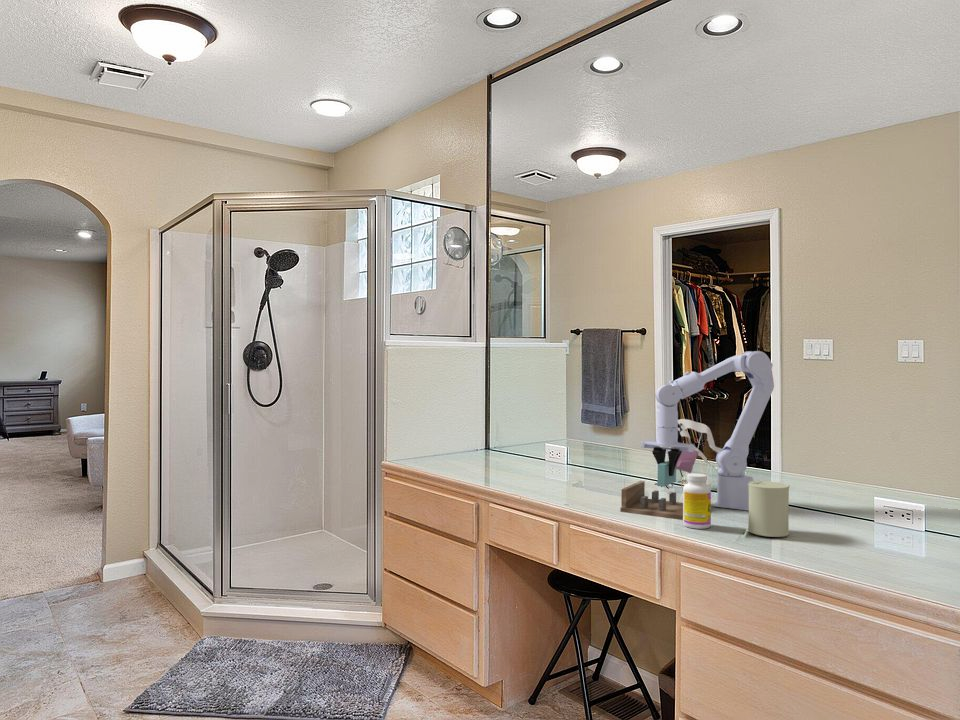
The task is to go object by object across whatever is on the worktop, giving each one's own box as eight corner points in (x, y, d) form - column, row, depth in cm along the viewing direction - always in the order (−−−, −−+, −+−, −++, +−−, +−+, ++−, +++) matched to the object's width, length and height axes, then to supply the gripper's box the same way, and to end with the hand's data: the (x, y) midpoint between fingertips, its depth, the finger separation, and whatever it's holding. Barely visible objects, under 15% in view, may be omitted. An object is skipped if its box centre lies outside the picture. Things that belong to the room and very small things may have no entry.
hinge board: (703, 508, 191) (703, 487, 191) (686, 520, 178) (686, 496, 178) (640, 501, 201) (640, 480, 201) (620, 511, 187) (620, 489, 187)
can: (754, 525, 172) (755, 477, 172) (793, 531, 167) (794, 482, 167) (742, 532, 165) (742, 482, 165) (782, 539, 159) (783, 487, 159)
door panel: (675, 481, 198) (676, 460, 198) (664, 486, 190) (664, 465, 190) (669, 480, 200) (669, 460, 200) (657, 485, 191) (657, 464, 191)
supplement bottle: (712, 530, 167) (712, 477, 167) (684, 528, 169) (684, 476, 169) (708, 523, 174) (709, 473, 174) (681, 522, 175) (681, 472, 175)
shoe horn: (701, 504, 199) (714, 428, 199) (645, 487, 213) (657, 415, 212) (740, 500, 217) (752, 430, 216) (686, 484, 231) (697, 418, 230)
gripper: (697, 427, 194) (696, 475, 194) (647, 424, 202) (647, 470, 202) (689, 429, 188) (689, 479, 188) (638, 426, 196) (638, 474, 196)
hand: (666, 475), depth 195 cm, fingers closed on door panel, 2 cm apart
